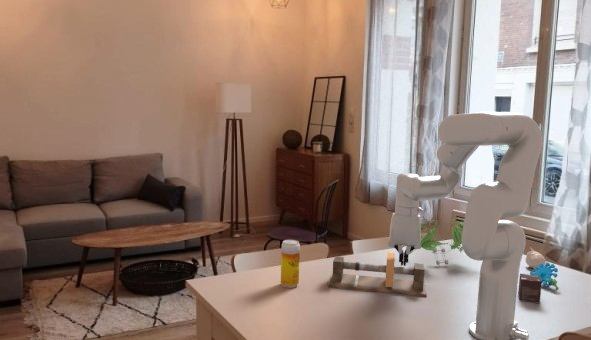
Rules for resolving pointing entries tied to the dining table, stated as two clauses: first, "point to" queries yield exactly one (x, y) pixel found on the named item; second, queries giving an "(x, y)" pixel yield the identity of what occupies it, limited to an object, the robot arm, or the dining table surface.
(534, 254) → the garlic bulb
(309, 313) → the dining table surface
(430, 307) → the dining table surface
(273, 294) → the dining table surface
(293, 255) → the beer can
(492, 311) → the robot arm
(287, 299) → the dining table surface
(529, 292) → the box
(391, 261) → the collar
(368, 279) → the pipe stand
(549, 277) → the blue lobed piece
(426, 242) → the plant cuttings
